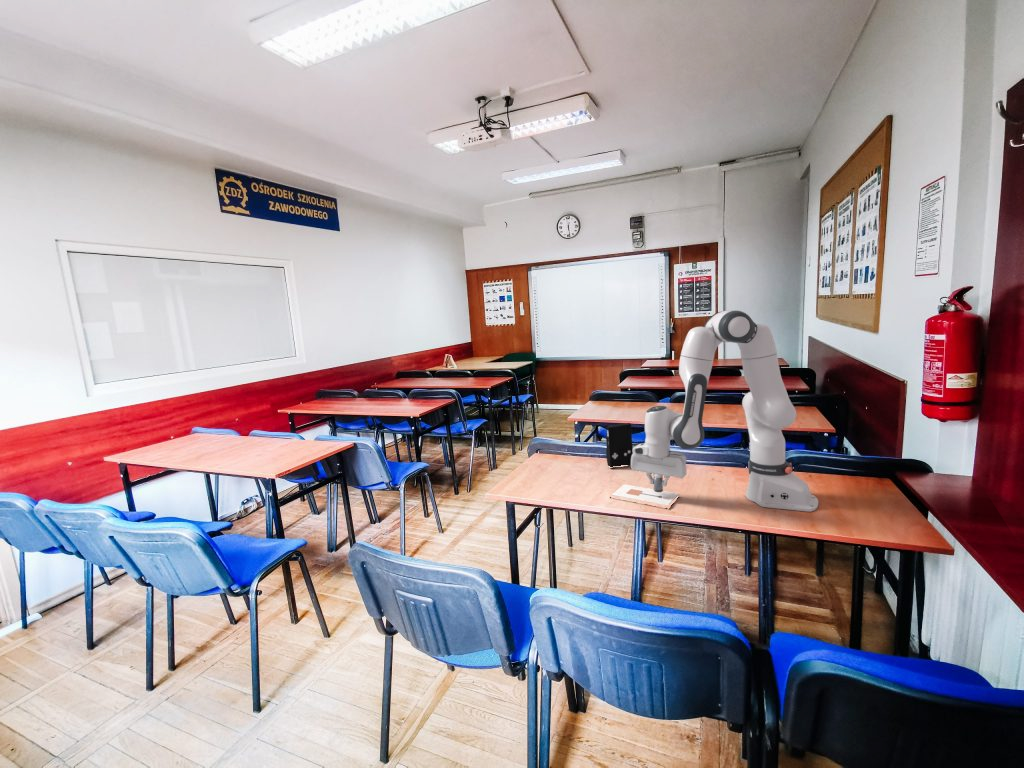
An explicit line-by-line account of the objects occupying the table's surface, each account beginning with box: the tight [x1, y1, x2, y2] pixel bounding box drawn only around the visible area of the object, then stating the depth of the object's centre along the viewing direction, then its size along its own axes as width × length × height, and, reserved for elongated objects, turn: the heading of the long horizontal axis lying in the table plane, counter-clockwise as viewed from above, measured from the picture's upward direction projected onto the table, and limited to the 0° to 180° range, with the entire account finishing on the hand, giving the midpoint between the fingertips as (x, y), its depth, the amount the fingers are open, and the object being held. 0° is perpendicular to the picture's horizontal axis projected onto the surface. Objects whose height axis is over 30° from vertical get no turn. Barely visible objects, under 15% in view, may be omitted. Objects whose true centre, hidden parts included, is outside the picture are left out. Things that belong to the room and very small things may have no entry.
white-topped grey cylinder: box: [652, 473, 664, 492], centre depth 167 cm, size 3×3×7 cm
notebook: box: [611, 483, 679, 506], centre depth 171 cm, size 23×13×1 cm, turn 52°
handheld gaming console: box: [605, 422, 634, 467], centre depth 207 cm, size 12×5×20 cm, turn 105°
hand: (658, 484), depth 167 cm, fingers closed on white-topped grey cylinder, 3 cm apart
